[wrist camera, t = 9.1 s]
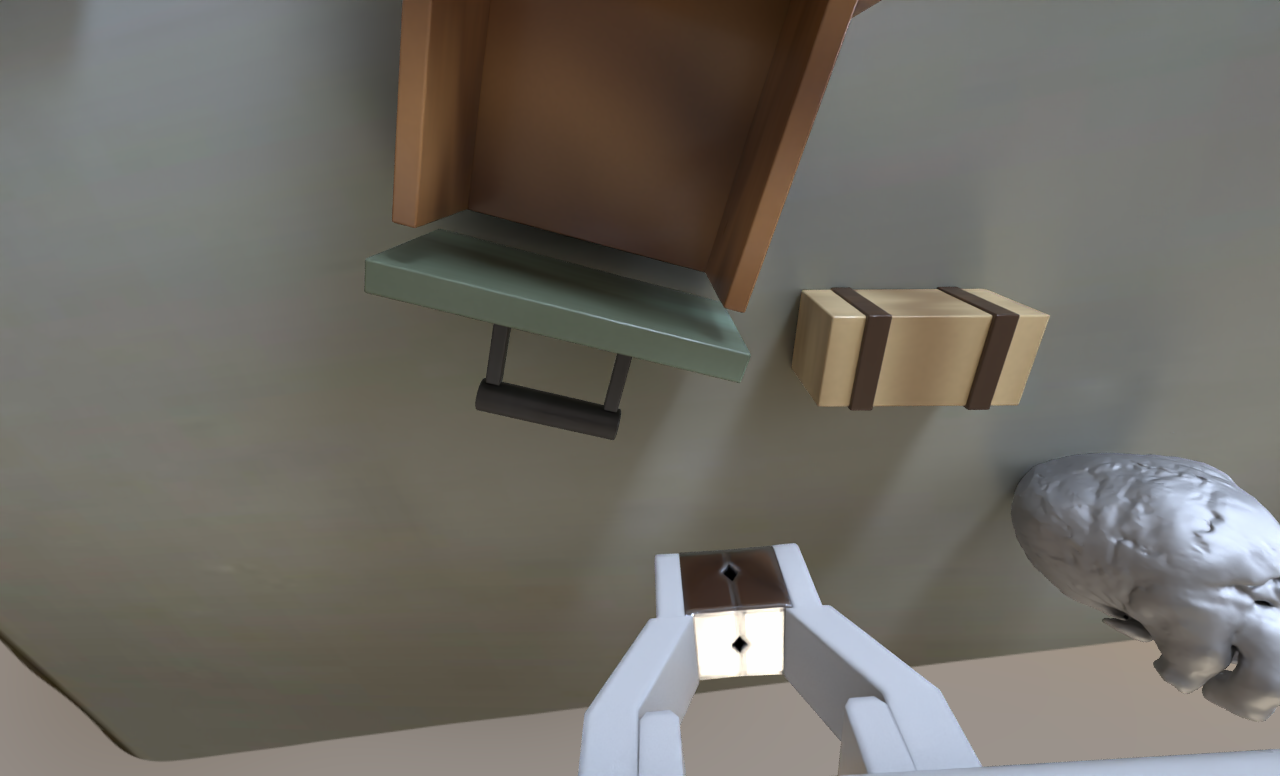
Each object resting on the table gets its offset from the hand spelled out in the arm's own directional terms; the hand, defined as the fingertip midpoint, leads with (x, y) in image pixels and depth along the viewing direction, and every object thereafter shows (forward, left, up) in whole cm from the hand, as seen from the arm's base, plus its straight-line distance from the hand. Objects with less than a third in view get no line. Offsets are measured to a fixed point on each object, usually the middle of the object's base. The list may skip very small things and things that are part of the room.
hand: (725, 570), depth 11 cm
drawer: (+5, -6, -15) cm, 17 cm away
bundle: (-10, -2, -16) cm, 19 cm away
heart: (-25, +4, -17) cm, 30 cm away
